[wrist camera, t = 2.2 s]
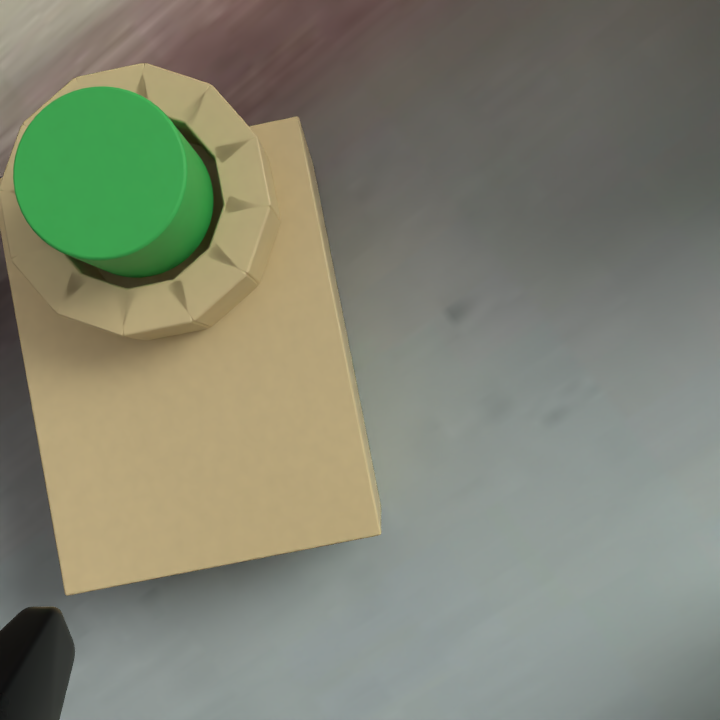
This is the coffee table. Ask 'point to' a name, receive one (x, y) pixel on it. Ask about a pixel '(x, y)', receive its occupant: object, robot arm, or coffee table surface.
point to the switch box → (196, 368)
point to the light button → (112, 183)
